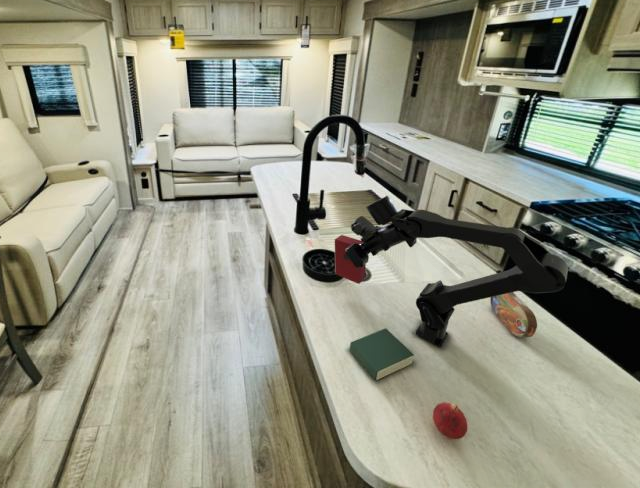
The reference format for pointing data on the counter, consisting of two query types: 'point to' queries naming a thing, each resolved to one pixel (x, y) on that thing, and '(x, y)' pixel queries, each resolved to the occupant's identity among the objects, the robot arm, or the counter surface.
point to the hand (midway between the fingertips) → (347, 254)
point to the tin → (514, 314)
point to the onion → (450, 420)
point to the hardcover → (381, 353)
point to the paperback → (346, 266)
